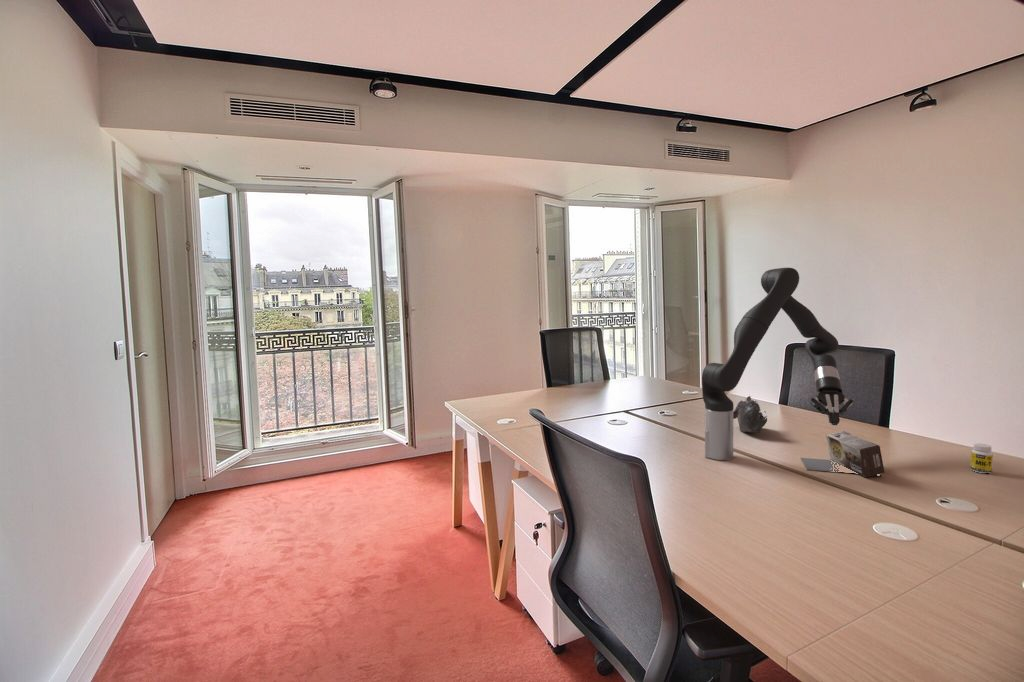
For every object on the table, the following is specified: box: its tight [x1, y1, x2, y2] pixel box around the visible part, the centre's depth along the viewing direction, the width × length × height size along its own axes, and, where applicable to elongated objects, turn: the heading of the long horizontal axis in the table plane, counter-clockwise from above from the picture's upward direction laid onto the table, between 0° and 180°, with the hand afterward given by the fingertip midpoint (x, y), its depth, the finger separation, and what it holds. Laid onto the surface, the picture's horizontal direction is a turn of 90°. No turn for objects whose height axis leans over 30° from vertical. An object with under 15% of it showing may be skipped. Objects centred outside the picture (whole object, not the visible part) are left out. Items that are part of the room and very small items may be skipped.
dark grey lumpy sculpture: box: [733, 395, 768, 434], centre depth 200 cm, size 14×15×20 cm
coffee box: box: [826, 430, 886, 478], centre depth 157 cm, size 9×6×16 cm
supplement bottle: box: [969, 442, 993, 474], centre depth 151 cm, size 5×5×8 cm
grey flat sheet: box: [800, 457, 840, 472], centre depth 160 cm, size 20×12×1 cm, turn 68°
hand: (835, 424), depth 164 cm, fingers closed
